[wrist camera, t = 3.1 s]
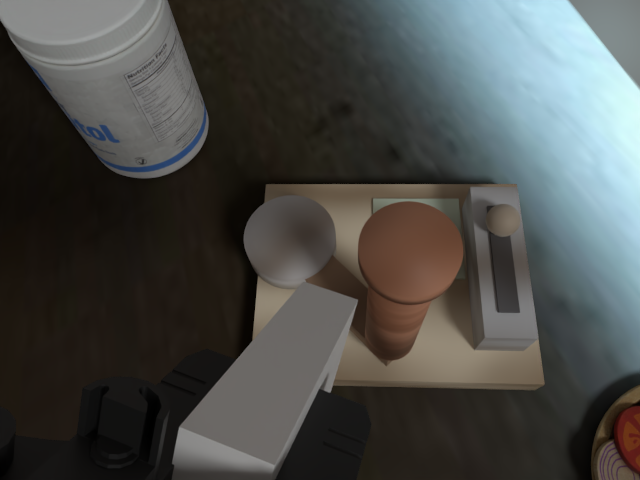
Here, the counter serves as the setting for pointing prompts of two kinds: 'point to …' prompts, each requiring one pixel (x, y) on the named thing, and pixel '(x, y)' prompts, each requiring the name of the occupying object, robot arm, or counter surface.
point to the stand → (454, 304)
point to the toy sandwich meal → (618, 440)
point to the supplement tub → (115, 78)
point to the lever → (361, 263)
